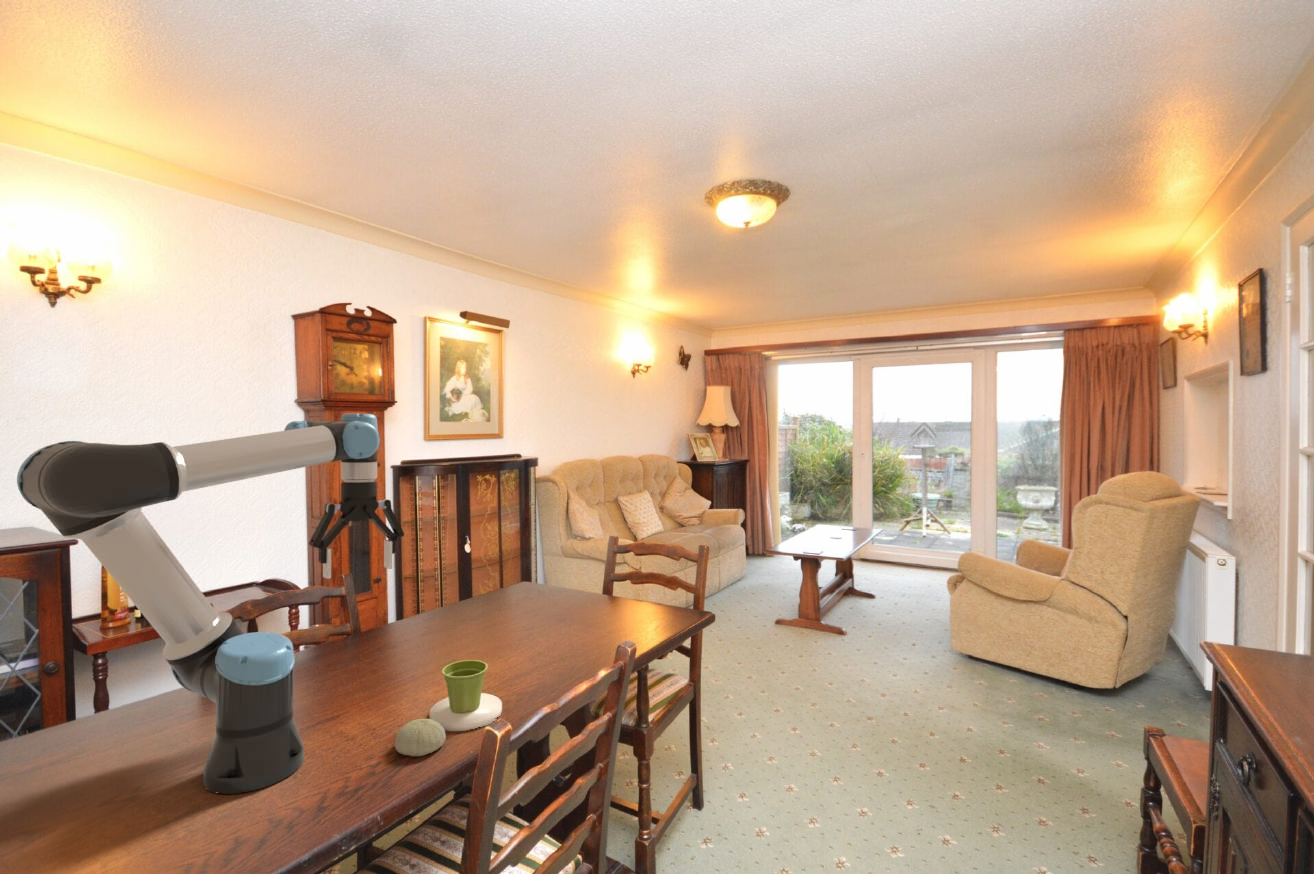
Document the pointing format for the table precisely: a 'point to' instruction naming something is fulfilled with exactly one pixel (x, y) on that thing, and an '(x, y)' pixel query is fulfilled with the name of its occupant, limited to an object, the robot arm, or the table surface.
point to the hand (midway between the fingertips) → (358, 572)
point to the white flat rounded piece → (467, 714)
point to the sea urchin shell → (420, 737)
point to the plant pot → (464, 684)
